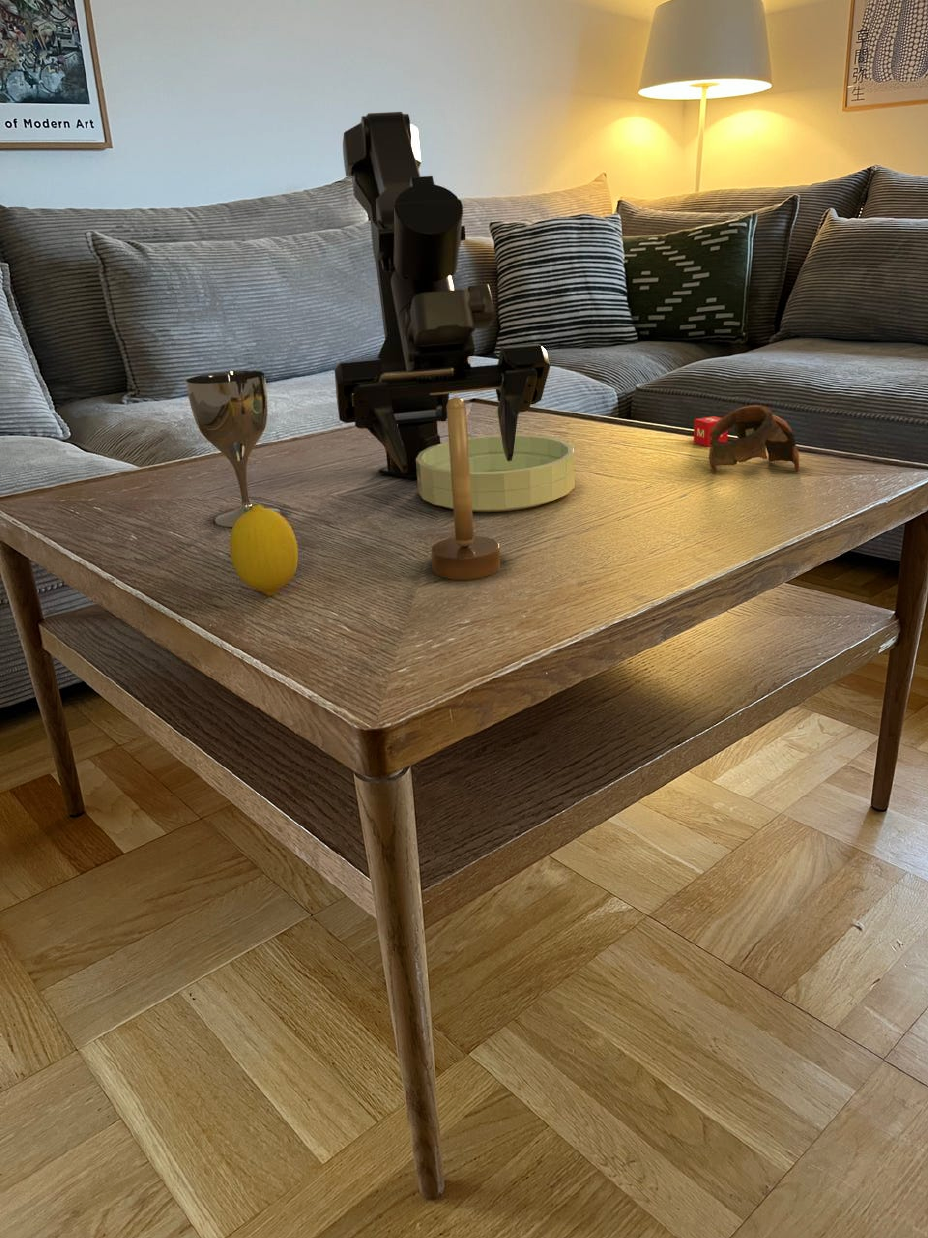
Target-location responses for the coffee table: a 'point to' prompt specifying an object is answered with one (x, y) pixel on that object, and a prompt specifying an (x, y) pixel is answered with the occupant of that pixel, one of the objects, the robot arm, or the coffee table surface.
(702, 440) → the dice
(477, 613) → the coffee table surface
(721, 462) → the brown arched hollow part
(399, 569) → the coffee table surface
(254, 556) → the lemon
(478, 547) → the stirring stick
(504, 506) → the bowl
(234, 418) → the wine glass
